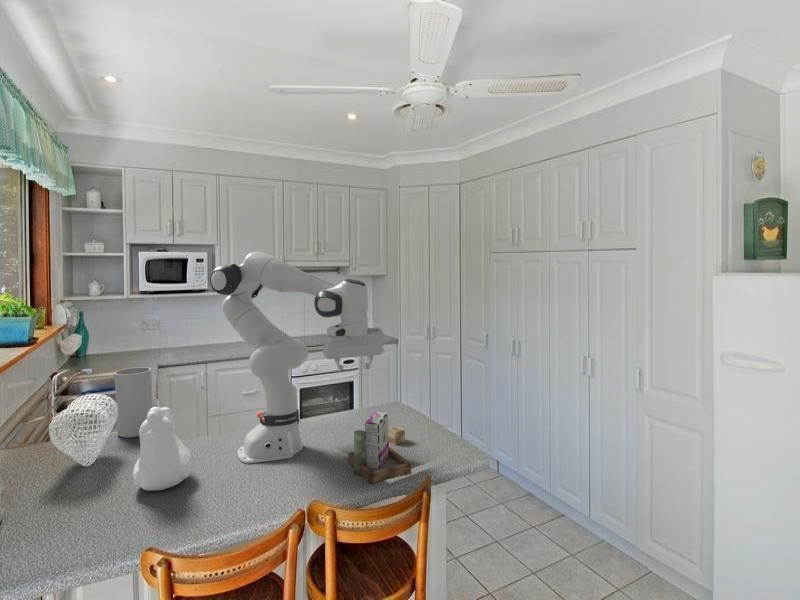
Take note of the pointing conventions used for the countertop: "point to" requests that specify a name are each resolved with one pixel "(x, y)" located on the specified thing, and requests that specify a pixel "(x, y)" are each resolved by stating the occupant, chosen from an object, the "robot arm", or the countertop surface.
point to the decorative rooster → (160, 453)
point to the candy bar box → (376, 440)
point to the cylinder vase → (132, 399)
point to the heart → (102, 437)
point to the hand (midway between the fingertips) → (354, 369)
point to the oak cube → (396, 435)
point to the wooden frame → (359, 464)
